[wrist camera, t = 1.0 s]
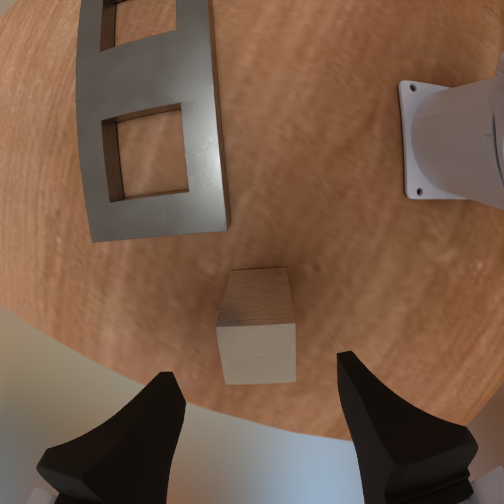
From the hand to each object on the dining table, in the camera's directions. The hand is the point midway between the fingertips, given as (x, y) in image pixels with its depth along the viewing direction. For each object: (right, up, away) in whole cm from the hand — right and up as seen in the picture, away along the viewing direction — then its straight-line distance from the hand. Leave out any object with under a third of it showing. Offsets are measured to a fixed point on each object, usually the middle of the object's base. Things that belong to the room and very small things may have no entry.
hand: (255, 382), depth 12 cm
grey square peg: (0, +3, +8) cm, 9 cm away
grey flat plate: (-7, +17, +4) cm, 18 cm away
